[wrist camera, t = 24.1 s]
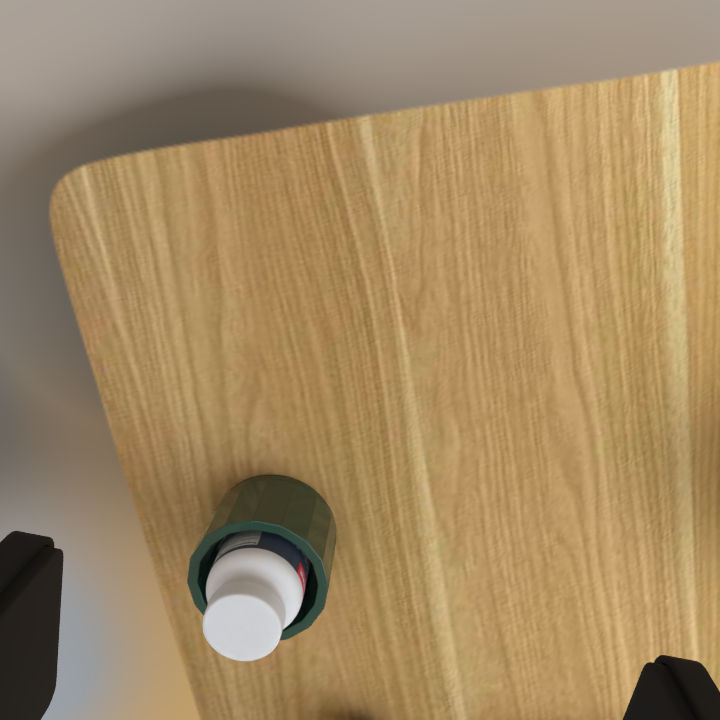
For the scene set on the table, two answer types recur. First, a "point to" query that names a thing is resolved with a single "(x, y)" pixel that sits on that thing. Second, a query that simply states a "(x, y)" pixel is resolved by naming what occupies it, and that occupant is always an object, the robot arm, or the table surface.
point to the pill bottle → (253, 593)
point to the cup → (278, 516)
